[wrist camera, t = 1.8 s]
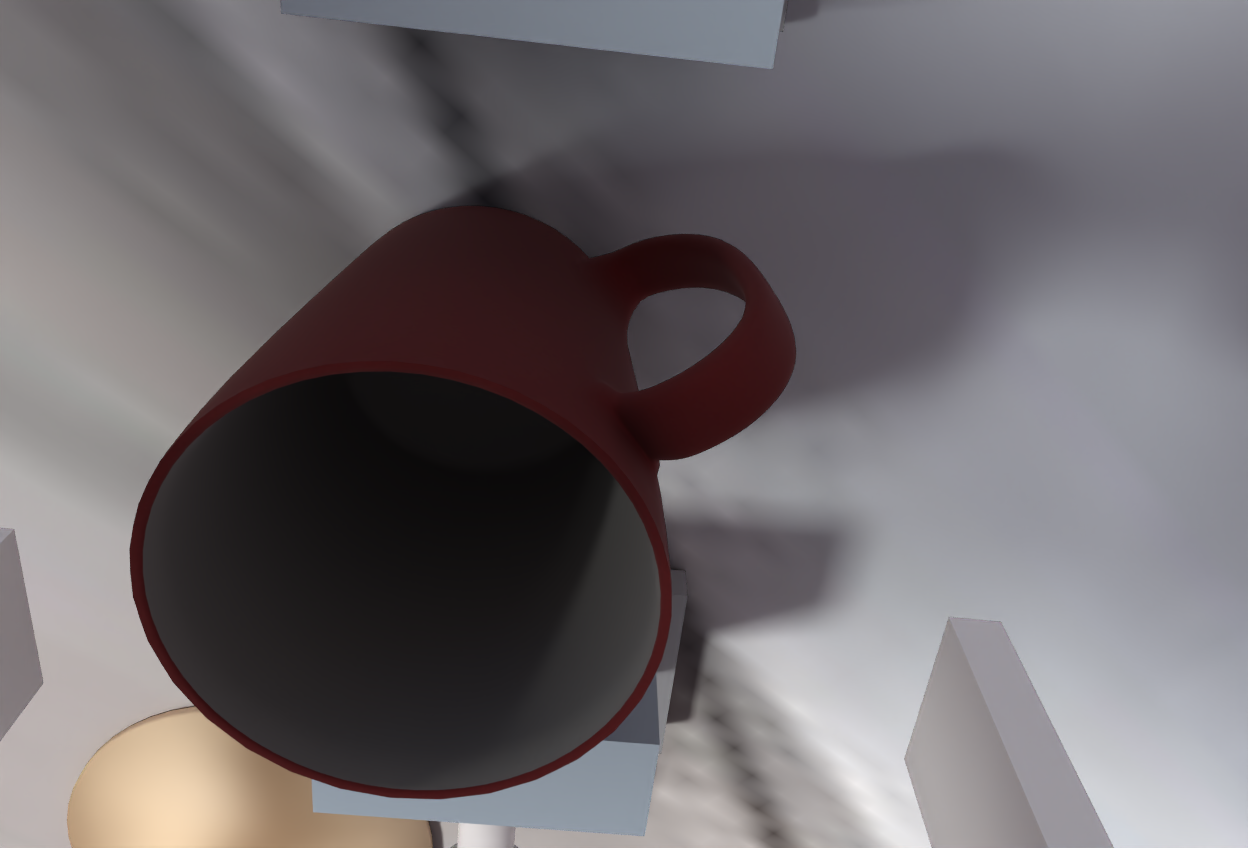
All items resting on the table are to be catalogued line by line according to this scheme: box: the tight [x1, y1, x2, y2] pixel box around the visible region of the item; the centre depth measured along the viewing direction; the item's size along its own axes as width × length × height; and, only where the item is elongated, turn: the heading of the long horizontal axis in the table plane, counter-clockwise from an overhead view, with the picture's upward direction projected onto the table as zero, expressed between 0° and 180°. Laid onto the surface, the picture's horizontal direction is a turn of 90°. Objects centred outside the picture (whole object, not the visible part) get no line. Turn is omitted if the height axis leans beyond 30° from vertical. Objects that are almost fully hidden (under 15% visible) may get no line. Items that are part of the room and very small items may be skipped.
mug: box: [130, 206, 796, 799], centre depth 22 cm, size 12×9×11 cm
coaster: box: [67, 706, 433, 848], centre depth 35 cm, size 12×12×1 cm
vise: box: [281, 0, 788, 848], centre depth 23 cm, size 10×34×7 cm, turn 174°
